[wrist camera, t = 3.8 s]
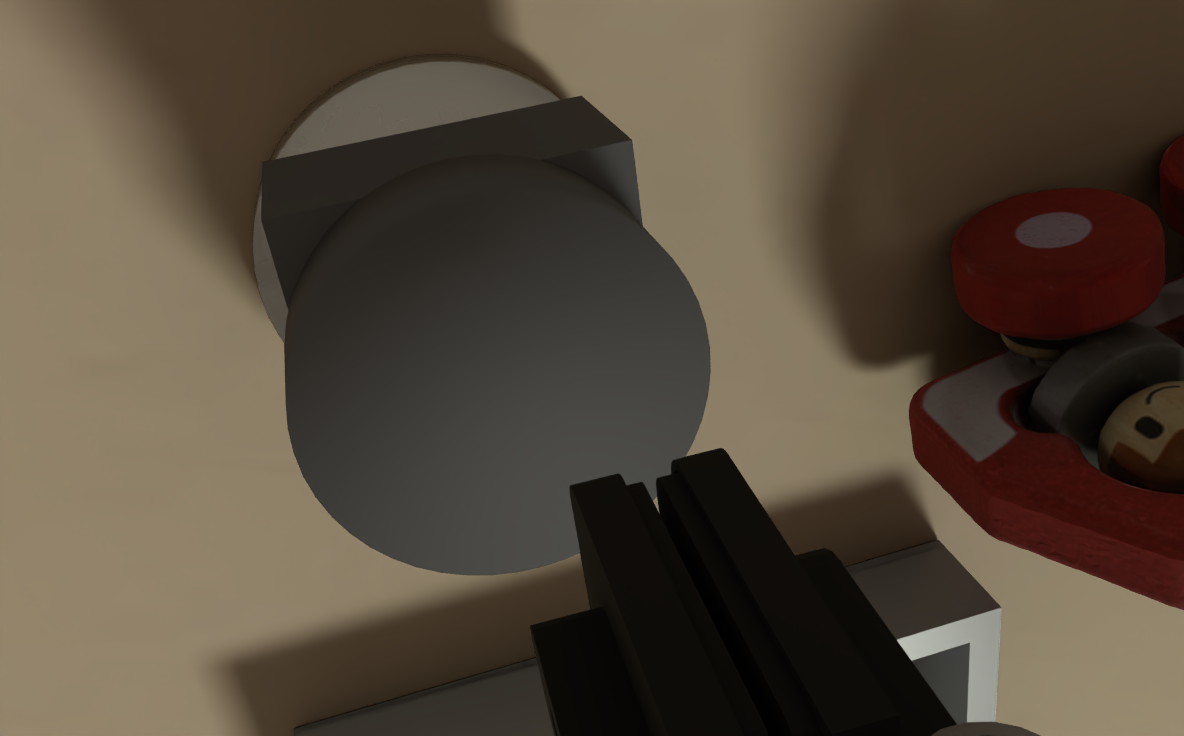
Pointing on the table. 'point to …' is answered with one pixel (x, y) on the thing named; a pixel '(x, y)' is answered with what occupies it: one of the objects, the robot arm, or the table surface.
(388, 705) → the grey shallow rectangular tray
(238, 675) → the table surface
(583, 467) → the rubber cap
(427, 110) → the silver flared round stand
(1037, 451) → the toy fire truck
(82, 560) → the table surface
